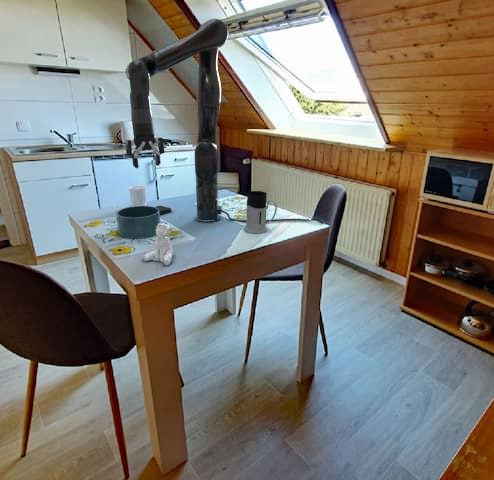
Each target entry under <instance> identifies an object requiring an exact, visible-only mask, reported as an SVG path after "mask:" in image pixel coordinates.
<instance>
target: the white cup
mask: <svg viewBox="0 0 494 480" xmlns="http://www.w3.org/2000/svg"><path fill="white" fill-rule="evenodd" d="M128 193H129V199H130V203H131V207H133V206H147V187H146V185H132V186H129V187H128Z"/></svg>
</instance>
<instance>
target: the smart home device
mask: <svg viewBox="0 0 494 480" xmlns="http://www.w3.org/2000/svg"><path fill="white" fill-rule="evenodd" d="M154 207H155V208H158V209H159V212H160V216H161V215H162V216H163V215H165V214H169V213H172V208H171V207H168V206H164V205H156V206H154Z"/></svg>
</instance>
